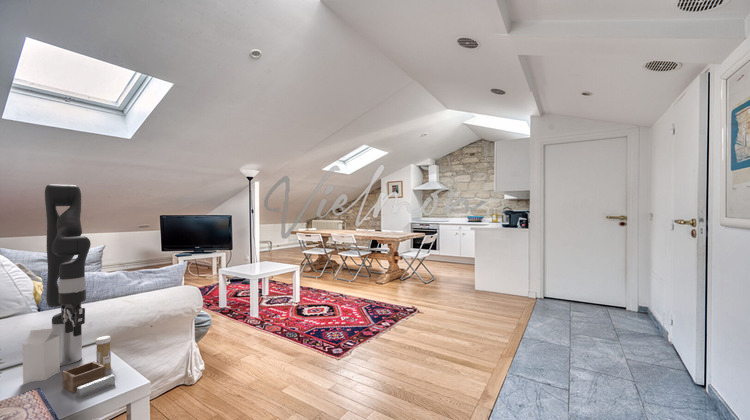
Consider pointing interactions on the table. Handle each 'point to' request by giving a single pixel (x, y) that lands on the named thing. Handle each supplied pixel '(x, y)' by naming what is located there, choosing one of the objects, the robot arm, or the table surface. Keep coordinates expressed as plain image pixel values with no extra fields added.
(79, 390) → the rail
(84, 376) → the block
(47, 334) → the milk carton
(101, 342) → the sprinkles bottle
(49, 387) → the table surface
